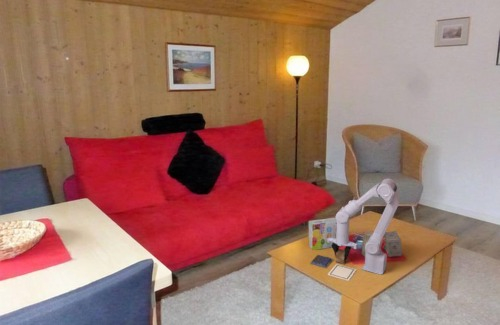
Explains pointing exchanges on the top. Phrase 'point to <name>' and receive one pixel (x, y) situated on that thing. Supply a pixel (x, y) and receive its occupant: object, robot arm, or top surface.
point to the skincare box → (366, 240)
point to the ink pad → (321, 261)
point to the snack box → (322, 233)
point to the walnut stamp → (340, 256)
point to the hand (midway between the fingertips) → (341, 258)
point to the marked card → (342, 272)
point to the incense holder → (392, 244)
